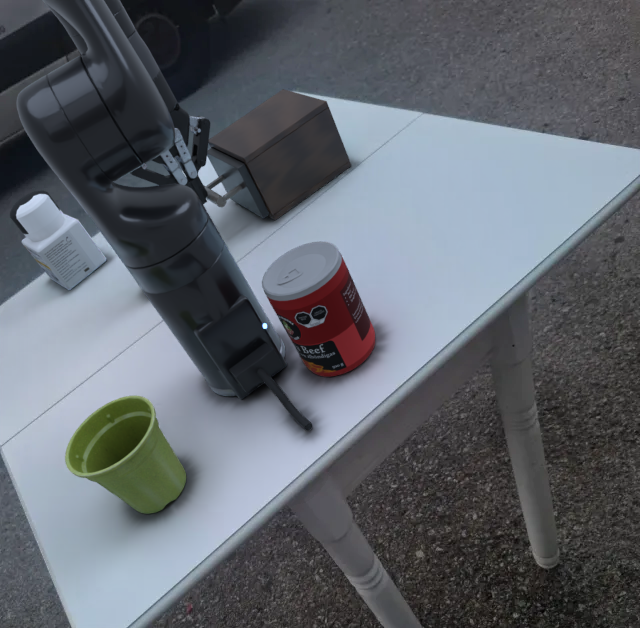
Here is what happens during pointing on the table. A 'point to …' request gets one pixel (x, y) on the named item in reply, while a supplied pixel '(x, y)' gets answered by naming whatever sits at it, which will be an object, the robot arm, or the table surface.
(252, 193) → the drawer
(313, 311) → the canned food
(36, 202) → the container
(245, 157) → the cabinet
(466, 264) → the table surface
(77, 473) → the plant pot
